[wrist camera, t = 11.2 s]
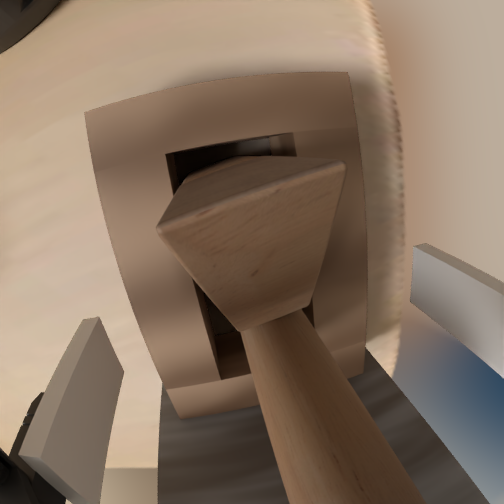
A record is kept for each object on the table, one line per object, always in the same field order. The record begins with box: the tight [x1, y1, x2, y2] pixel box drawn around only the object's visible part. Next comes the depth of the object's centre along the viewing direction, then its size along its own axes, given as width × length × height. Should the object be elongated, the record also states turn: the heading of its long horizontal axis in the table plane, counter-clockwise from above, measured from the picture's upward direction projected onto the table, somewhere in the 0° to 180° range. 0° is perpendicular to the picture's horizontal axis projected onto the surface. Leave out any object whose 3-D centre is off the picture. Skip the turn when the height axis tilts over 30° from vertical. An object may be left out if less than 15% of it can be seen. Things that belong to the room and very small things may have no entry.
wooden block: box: [156, 156, 427, 504], centre depth 12 cm, size 4×11×18 cm, turn 18°
